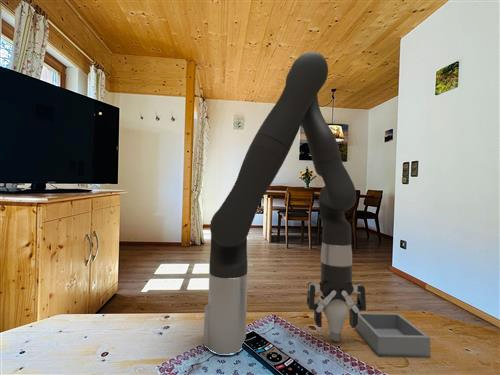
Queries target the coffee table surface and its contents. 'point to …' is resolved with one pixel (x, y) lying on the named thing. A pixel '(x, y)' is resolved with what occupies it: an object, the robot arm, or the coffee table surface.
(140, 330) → the coffee table surface
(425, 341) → the tray
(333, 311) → the lightbulb
